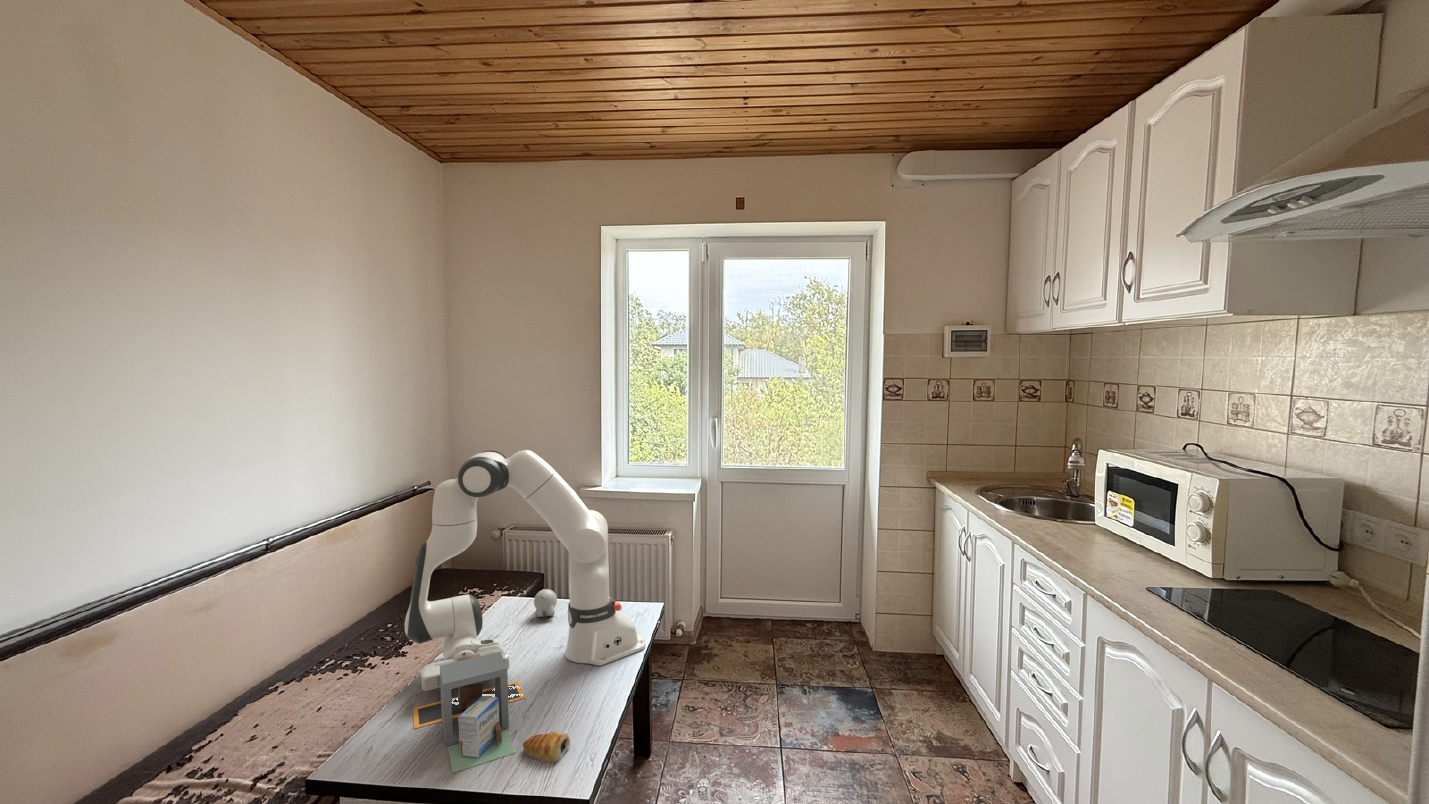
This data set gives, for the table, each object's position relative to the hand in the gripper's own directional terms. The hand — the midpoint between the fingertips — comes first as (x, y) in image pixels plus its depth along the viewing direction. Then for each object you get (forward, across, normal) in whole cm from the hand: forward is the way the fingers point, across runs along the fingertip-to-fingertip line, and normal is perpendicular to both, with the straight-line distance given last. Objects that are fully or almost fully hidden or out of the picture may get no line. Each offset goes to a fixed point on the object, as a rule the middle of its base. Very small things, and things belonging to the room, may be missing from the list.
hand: (469, 683), depth 138 cm
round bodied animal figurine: (-43, +28, +5) cm, 52 cm away
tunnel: (+10, 0, +5) cm, 11 cm away
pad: (+20, 0, +5) cm, 21 cm away
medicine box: (+18, 0, +5) cm, 19 cm away
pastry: (+28, +12, +6) cm, 31 cm away
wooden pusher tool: (+10, 0, +4) cm, 11 cm away
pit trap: (0, 0, +5) cm, 5 cm away
